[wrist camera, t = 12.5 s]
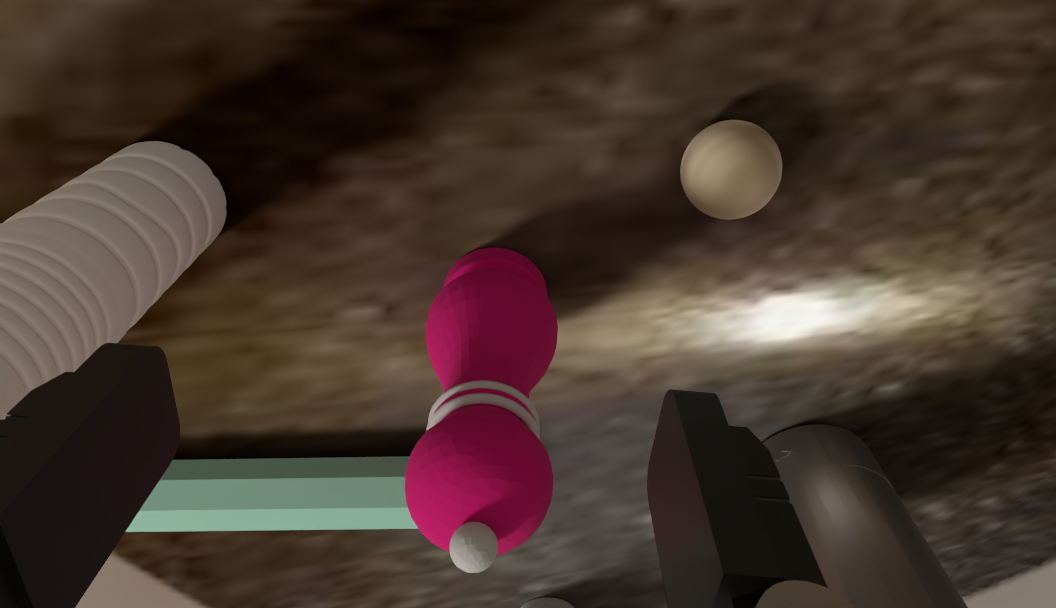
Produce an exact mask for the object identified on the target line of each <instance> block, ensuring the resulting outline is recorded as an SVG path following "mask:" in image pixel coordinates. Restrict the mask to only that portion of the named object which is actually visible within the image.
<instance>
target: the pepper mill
mask: <svg viewBox="0 0 1056 608" xmlns="http://www.w3.org/2000/svg"><path fill="white" fill-rule="evenodd" d="M557 331H558V325H557V319H556V314H555V311H554V309H553V306H552V304H551V302H550V300H549V299H548V297H547V288H546V283H545V280H544V278H543V275H542V274H541V272H540V270H539V269H538V268H537V267H536V265H535V264H534V263H533V262H532V261H530V260H529V259H528V258H527V257H525V256H523V255H522V254H520V253H517V252H515V251H512V250H509V249H504V248H484V249H479V250H476V251H473V252H471V253H469V254H467V255H465V256H463V257H462V258H460V259H459V260H458V261H457V262H456V263H455V264H454V265H453V266H452V268H451V269H450V271H449V272H448V274H447V277H446V279H445V282H444V286H443V289H442V290H441V291H440V292H439V294H438V295H437V296H436V298H435V299H434V301H433V303H432V305H431V307H430V310H429V313H428V317H427V326H426V345H427V349H428V353H429V357H430V361H431V363H432V366H433V368H434V370H435V372H436V374H437V376H438V378H439V379H440V381H441V383H442V385H443V387H444V392H445V393H443V394H442V395H441V396H440V397H439V398H438V400H437V401H436V402H435V404H434V405H433V407H432V409H431V411H430V414H429V419H428V425H427V428H426V432H425V433H424V434H423V436H422V437H421V438H420V439H419V441H418V442H417V443H416V445H415V447H414V448H413V450H412V452H411V455H410V458H409V461H408V464H407V467H406V473H405V496H406V503H407V506H408V509H409V512H410V515H411V518H412V519H413V521H414V522H415V524H416V525H417V527H418V529H419V530H420V532H421V533H422V534H423V535H424V536H425V537H426V538H427V539H428V540H429V541H431V542H432V543H434V544H435V545H437V546H438V547H440V548H442V549H444V550H446V551H449V552H450V555H451V558H452V560H453V562H454V564H455V565H456V566H457V567H458V568H460V569H461V570H463V571H465V572H469V573H478V572H481V571H484V570H485V569H487V568H488V567H489V566H490V565H491V564H492V563H493V561H494V560H495V558H496V555H499V554H503V553H505V552H508V551H510V550H512V549H514V548H516V547H518V546H520V545H521V544H522V543H524V542H525V541H526V540H527V539H528V538H529V537H530V536H531V535H532V534H533V533H534V532H535V531H536V530H537V529H538V527H539V526H540V524H541V523H542V521H543V520H544V517H545V515H546V513H547V510H548V508H549V505H550V501H551V497H552V491H553V473H552V467H551V463H550V459H549V456H548V453H547V451H546V449H545V447H544V445H543V444H542V443H541V441H540V434H539V431H540V422H539V417H538V414H537V411H536V409H535V407H534V406H533V404H532V403H531V402H530V400H529V399H528V398H529V393H530V391H531V390H532V389H533V388H534V386H535V385H536V384H537V383H538V382H539V381H540V379H541V378H542V377H543V376H544V374H545V372H546V370H547V369H548V367H549V365H550V363H551V361H552V358H553V356H554V353H555V349H556V343H557Z"/></svg>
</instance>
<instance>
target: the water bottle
mask: <svg viewBox="0 0 1056 608" xmlns="http://www.w3.org/2000/svg"><path fill="white" fill-rule="evenodd" d="M226 214H227V211H226V197H225V194H224V191H223V188H222V186H221V184H220V182H219V180H218V179H217V177H215V176H214V175H213V173H212V170H211V169H210V168H209V167H208V165H207V164H206V163H204V162H203V161H202V160H201V159H200V158H199V157H197V156H196V155H194V154H193V153H191V152H189V151H187V150H183V149H181V148H180V147H179V146H177V145H174V144H171V143H166V142H160V141H147V142H139V143H135V144H132V145H130V146H128V147H126V148H124V149H122V150H120V151H119V152H117V153H115V154H113V155H112V156H110V157H109V158H107V159H106V160H104V161H103V162H102V163H100V164H98V165H96V166H94V167H93V168H91V169H89V170H88V171H86V172H85V173H83V174H82V175H81V176H79V177H77V178H75V179H73V180H71V181H69V182H68V183H66V184H65V185H63V186H62V187H61V188H59V189H57V190H55V191H53V192H51V193H49V194H48V195H46V196H44V197H43V198H41V199H40V200H38V201H37V202H36V203H34V204H33V205H31V206H29V207H27V208H25V209H23V210H21V211H20V212H18V213H16V214H15V215H13V216H12V217H10V218H9V219H7V220H6V221H5V222H3V223H2V224H0V420H1V419H2V420H5V418H6V414H7V413H8V412H9V411H10V410H11V409H12V408H13V407H14V406H15V405H16V404H17V403H18V402H20V401H21V400H22V399H23V398H24V397H25V396H26V395H27V394H28V393H29V392H30V391H31V390H33V389H35V388H37V387H39V386H41V385H42V384H44V383H46V382H48V381H50V380H51V379H53V378H55V377H57V376H59V375H61V374H62V373H64V372H75V371H76V370H77V369H78V368H79V367H80V366H81V365H82V364H83V363H84V362H85V361H86V360H87V359H88V358H89V357H90V356H91V355H92V354H93V353H94V352H95V351H96V350H97V349H98V348H99V347H100V346H101V345H103V344H105V343H118V342H119V341H120V339H121V338H122V337H123V336H124V335H125V333H126V332H127V331H128V329H130V328H131V327H132V326H133V325H134V324H135V323H136V322H137V321H138V320H139V319H140V318H141V317H142V316H143V315H144V314H145V312H146V311H147V310H148V308H149V307H151V306H152V305H153V304H154V303H155V302H156V301H157V300H158V299H159V298H160V297H161V295H162V294H163V293H164V292H165V291H166V290H167V289H168V288H169V287H170V286H171V285H172V284H173V283H174V282H175V281H176V280H177V279H178V277H179V276H180V275H181V274H182V272H183V271H184V270H186V269H187V268H188V267H189V266H190V265H191V264H192V263H193V262H194V260H195V259H196V258H197V257H198V255H200V254H201V253H202V252H203V251H204V250H205V249H206V248H207V247H208V246H209V245H210V244H211V243H212V242H213V241H214V240H215V238H216V237H217V236H218V235H219V233H220V232H221V230H222V228H223V226H224V223H225V220H226Z"/></svg>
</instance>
